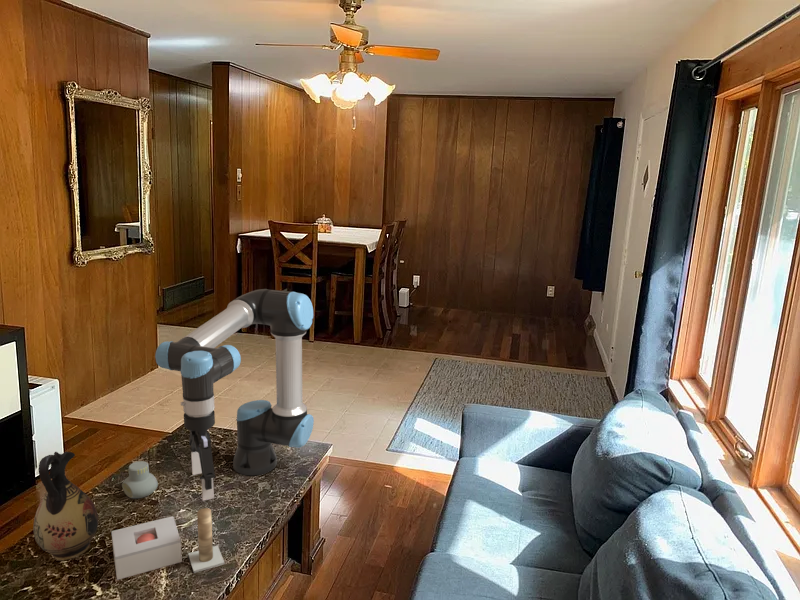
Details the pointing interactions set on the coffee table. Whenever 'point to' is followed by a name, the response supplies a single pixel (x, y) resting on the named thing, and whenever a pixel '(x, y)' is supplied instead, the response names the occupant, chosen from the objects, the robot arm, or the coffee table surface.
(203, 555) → the tan wooden rod
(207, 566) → the pad
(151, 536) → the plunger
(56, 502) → the ceramic jug
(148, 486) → the air freshener
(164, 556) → the box
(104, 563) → the coffee table surface
